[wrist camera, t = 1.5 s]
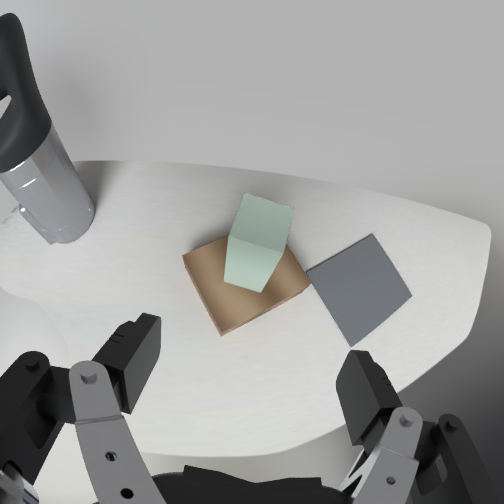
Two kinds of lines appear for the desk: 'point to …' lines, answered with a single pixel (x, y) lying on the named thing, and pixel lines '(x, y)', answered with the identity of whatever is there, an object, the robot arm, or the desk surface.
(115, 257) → the desk surface
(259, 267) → the sage block
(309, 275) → the charcoal mat
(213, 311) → the walnut block
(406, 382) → the desk surface
